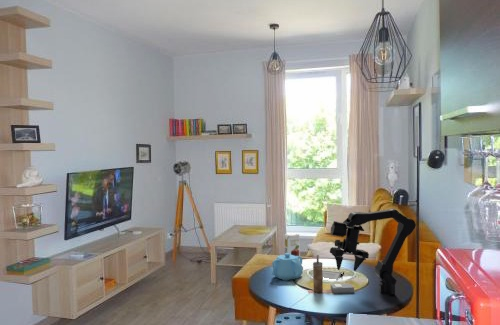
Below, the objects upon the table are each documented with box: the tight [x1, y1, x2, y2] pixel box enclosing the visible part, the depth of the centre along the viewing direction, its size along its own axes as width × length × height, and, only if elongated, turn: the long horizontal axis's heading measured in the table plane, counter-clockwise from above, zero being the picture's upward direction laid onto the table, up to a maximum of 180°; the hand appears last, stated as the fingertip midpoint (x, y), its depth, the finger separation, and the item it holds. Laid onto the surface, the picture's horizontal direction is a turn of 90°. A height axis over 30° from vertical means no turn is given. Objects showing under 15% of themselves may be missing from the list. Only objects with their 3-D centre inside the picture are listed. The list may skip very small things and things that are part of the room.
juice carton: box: [283, 232, 301, 261], centre depth 244 cm, size 8×9×19 cm
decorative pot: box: [271, 252, 304, 282], centre depth 218 cm, size 16×16×14 cm
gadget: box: [309, 270, 342, 281], centre depth 218 cm, size 23×15×4 cm, turn 156°
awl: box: [312, 254, 324, 294], centre depth 192 cm, size 4×4×18 cm
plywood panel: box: [306, 289, 334, 294], centre depth 187 cm, size 22×16×1 cm
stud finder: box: [330, 282, 355, 294], centre depth 192 cm, size 10×6×3 cm, turn 93°
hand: (346, 270), depth 189 cm, fingers open, 9 cm apart
